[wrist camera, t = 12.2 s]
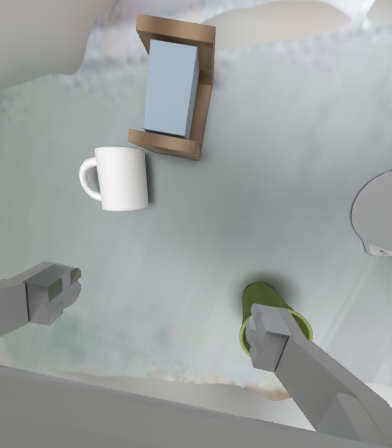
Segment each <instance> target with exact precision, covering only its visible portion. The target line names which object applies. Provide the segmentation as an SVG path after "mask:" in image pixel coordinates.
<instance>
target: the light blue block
mask: <svg viewBox="0 0 392 448" xmlns="http://www.w3.org/2000/svg"><path fill="white" fill-rule="evenodd" d="M198 77H199V61H198V51H197V47H195V46H189V45H183V44H177V43H170V42H164V41H158V40H152V39H151V40H150V52H149V63H148V75H147V87H146V98H145V110H144V121H143V129H144V130H146V131H147V132H148V133H154V134H159V135H165V136H170V137H176V138H181V139H187V140H189V137H190V131H191V124H192V117H193V111H194V104H195V97H196V91H197V84H198Z"/></svg>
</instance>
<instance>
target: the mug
mask: <svg viewBox="0 0 392 448" xmlns="http://www.w3.org/2000/svg"><path fill="white" fill-rule="evenodd" d="M94 166H97V172H98V179H99V186H100V193H98V192H95V191H93V190H92V189H91V187H90V185H89V183H88V179H87V170H88V169H89V168H91V167H94ZM79 177H80V181H81V184H82V186H83V188H84V189H85V191H86V192H87V193H88V194H89V195H90V196H91V197H92V198H94V199H96V200H98V201H102V208H103V209H104V210H108V211H130V210H138V209H143V208H146V207H148V192H147V178H146V164H145V152H144V151H143V150H140V149H136V148H127V147H99V148H96V149H95V157H93V158H89V159H87V160H86V161H84V162H83V164H82V165H81V167H80V171H79Z"/></svg>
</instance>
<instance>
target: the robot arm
mask: <svg viewBox="0 0 392 448" xmlns="http://www.w3.org/2000/svg"><path fill="white" fill-rule="evenodd" d="M352 224H353V227H354V229H355V231H356V233H357V234H358V235H359V236H360V237H361V239H362V240H363V242H364V246H365V250H366V252H367V253H368V254H370V255H373V256H392V171H389V172H386V173H384V174H382V175H380V176H378V177H376V178H375V179H373V180H372V181H371V182H369V183H368V184H367V185H366V186H365V187H364V188H363V189H362V190H361V192H360V193H359V195H358V196H357V198H356V200H355V202H354V205H353V208H352ZM80 277H81V270H80V269H79V268H76V267H71V266H67V265H62V264H57V263H53V262H42V263H40V264H38V265H36V266H34V267H32V268H30V269H28V270H26V271H25V272H23V273H21V274H19V275H17V276H15V277H13V278H11V279H9V280H8V279H2V280H0V337H1V336H3V335H5V334H7V333H9V332H11V331H13V330H15V329H17V328H19V327H21V326H24V325H26V324H28V323H29V322H32V323H38V324H43V325H49V326H50V325H51V324H52V323H53V322H54V321H55V320H56V319H57V318H58V317H59V316H60V315H62V314H63V309H64V308H67V307H69V306H71V305H72V304H73V303H74V302H75V301H76V300H77V298H78V296H79V294H80V290H81V285H80V283H79V282H78V279H79V278H80ZM250 311H251V314H252V316H251V317H249V318H248V320H247V323H246V338H247V342H248V343H249V344H250V346H251V348H250V351H249V352H250V356H251V360H252V364H253V368H258V369H262V370H266V371H270V372H274V373H275V375H276V376H277V378H278V379H279V381H280V382H281V383H282V385H283V386H284V387H285V389H286V390H287V392H288V393H289V394H290V396H291V397H292V398H293V400H294V401H295V402H296V404H297V405H298V406H299V408H300V409H301V411H302V412H303V413H304V415H305V416H306V418H307V419H308V420H309V422H310V423H311V424H312V426H313V427H314V429H315V430H316V432H315V431H310V430H306V429H301V428H296V427H291V426H287V425H282V424H277V423H273V422H267V421H263V420H258V419H253V418H249V417H244V416H240V415H235V414H230V413H225V412H221V411H216V410H211V409H206V408H201V407H197V406H192V405H187V404H183V403H178V402H173V401H168V400H164V399H159V398H154V397H149V396H145V395H140V394H135V393H130V392H125V391H121V390H116V389H112V388H107V387H102V386H98V385H92V384H88V383H83V382H79V381H74V380H69V379H64V378H60V377H55V376H50V375H46V374H41V373H36V372H32V371H27V370H22V369H17V368H13V367H8V366H3V365H0V448H392V408H391V407H390V406H389V404H388V403H387V402H386V401H385V400H384V399H383V398H381V397H380V396H379V395H378V394H376V393H375V392H374V391H373V390H372V389H370V388H369V387H368V386H366V385H365V384H364V383H363V382H362V381H360V380H359V379H358V378H357V377H355V376H354V375H353V374H352V373H350V372H349V371H348V370H347V369H346V368H344V367H343V366H342V365H341V364H339V363H338V362H337V361H336V360H334V359H333V358H332V357H331V356H329V355H328V354H327V353H326V352H324V351H323V350H322V349H321V348H320V347H318V346H317V345H316V344H315V343H313V342H312V341H311V340H307V339H306V337H305V336H304V334H303V332H302V331H301V329H300V327H299V326H298V324H297V322H296V321H295V319H294V318H293V316H292V314H291V313H290V311H289V310H288V309H285V308H279V307H272V306H266V305H261V304H255V303H253V305H252V307H251V310H250Z"/></svg>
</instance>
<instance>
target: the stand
mask: <svg viewBox="0 0 392 448" xmlns="http://www.w3.org/2000/svg"><path fill="white" fill-rule="evenodd" d="M215 28H216V27H214V26H208V25H203V24H197V23H191V22H185V21H179V20H173V19H167V18H161V17H155V16H149V15H143V14H137V24H136V31H137V33H138V35H139V37H140V39H141V41H142V43H143V45H144V47H145V49H146V51H147V53H148V55H149V52H150V40H151V39H152V40H158V41H164V42H170V43H177V44H183V45H189V46H195V47H197V51H198V61H199V77H198V84H197V91H196V97H195V104H194V111H193V117H192V124H191V131H190V137H189V140H187V139H181V138H176V137H170V136H165V135H159V134H154V133H148V132H147V131H146V130H145V132H143V131H138V130H132V129H129V135H128V141H129V142H131V143H133V144H136V145H138V146H140V147H143V148H145V149H147V150H149V151H152V152H156V153H161V154H166V155H172V156H177V157H183V158H188V159H193V160H199V158H200V152H201V146H202V140H203V135H204V129H205V123H206V118H207V112H208V106H209V100H210V95H211V89H212V83H213V75H214V52H215Z"/></svg>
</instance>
